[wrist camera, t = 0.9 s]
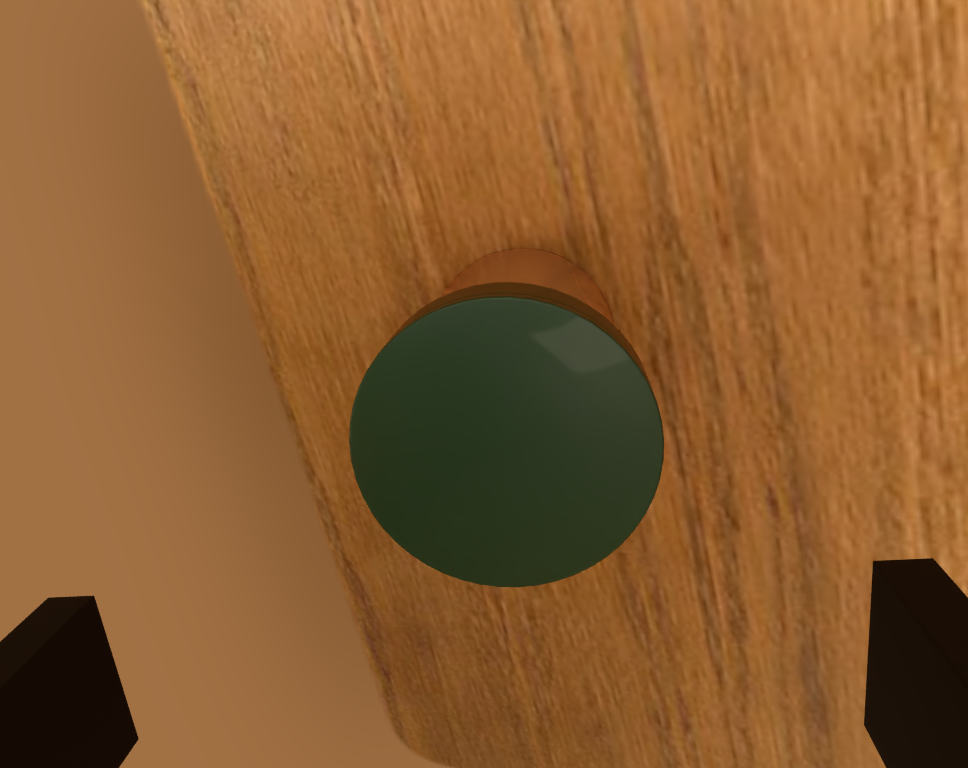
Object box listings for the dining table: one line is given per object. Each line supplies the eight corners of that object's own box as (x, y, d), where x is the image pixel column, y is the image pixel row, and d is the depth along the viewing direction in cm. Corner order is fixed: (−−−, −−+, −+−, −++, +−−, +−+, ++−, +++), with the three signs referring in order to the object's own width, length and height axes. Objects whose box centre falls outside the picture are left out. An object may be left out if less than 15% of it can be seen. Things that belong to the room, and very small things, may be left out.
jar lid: (386, 558, 22) (371, 593, 20) (341, 296, 19) (320, 312, 18) (660, 544, 21) (669, 581, 19) (648, 267, 18) (658, 281, 17)
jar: (444, 429, 30) (392, 568, 20) (421, 257, 28) (350, 322, 18) (619, 417, 29) (649, 556, 19) (608, 239, 27) (637, 297, 17)
